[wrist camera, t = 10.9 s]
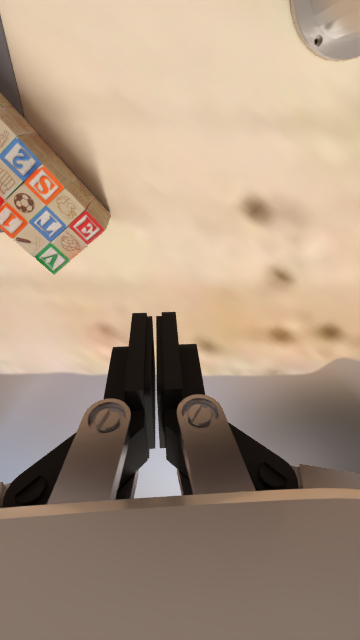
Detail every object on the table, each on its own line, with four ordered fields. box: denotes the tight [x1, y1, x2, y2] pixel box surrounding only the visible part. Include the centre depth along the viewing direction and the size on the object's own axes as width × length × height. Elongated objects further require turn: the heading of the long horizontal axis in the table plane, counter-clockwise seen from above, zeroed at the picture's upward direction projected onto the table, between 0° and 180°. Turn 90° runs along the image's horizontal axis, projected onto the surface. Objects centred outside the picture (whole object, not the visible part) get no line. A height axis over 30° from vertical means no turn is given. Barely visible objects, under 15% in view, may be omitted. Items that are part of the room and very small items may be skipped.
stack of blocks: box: [0, 93, 111, 274], centre depth 36 cm, size 21×6×12 cm
